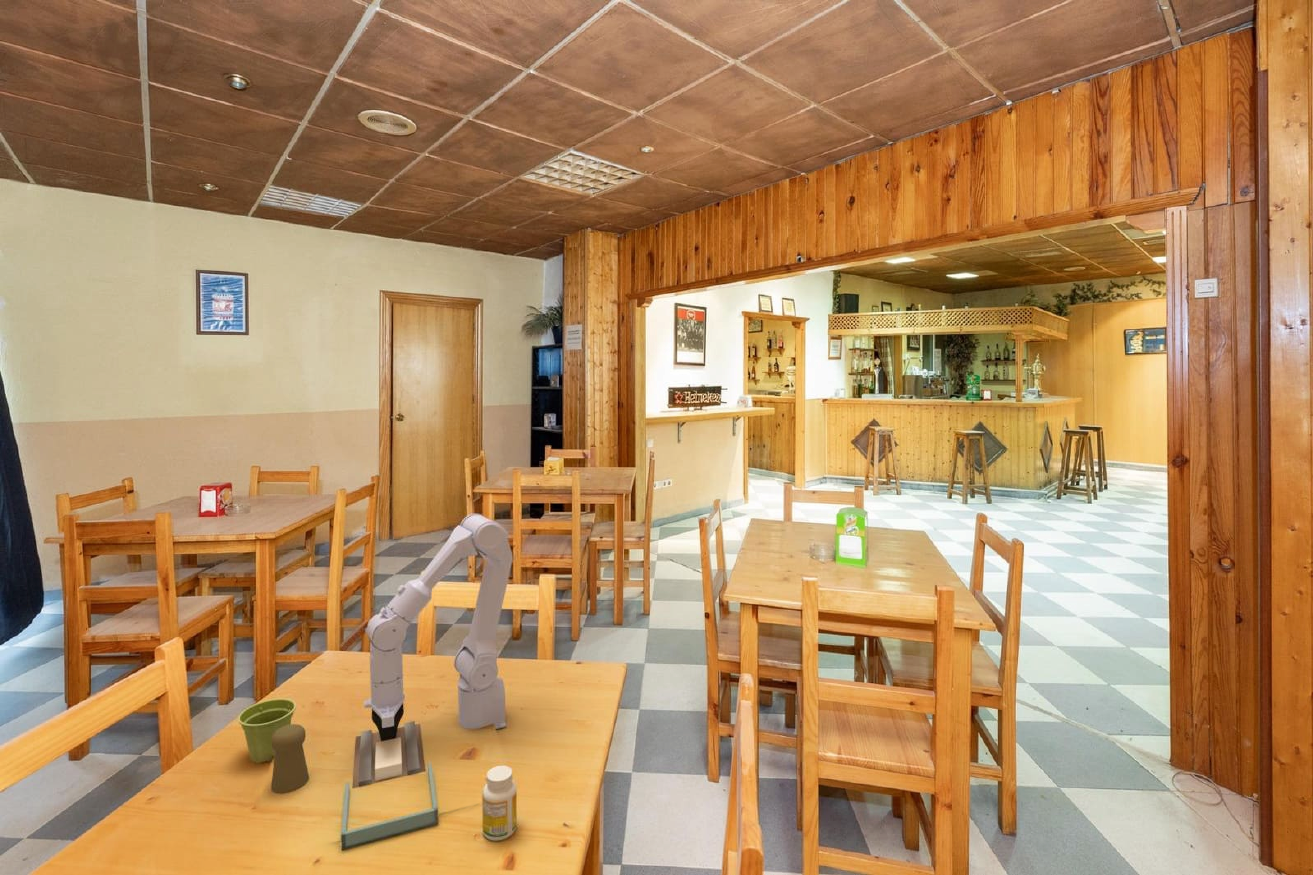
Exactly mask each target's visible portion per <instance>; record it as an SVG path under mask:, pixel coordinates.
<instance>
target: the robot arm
mask: <svg viewBox="0 0 1313 875" xmlns="http://www.w3.org/2000/svg"><path fill="white" fill-rule="evenodd" d="M508 536H509V533H508V532H507V531H506V529H505V528H504V527H503V526H502V525H501V524H500V523H499V522H497V521H494V520H491V519H490V518H487V517H485V516H484V515H483V514H480V513H472V514H468V515H466V517H464V518H463V519H462V521H461V522H460V524H459V525H457V526H456V527H455V528H454V529H453V531H452V532H451V534H450V536H449V537H448V539H447V541H445V543H444V544H443V546H442V547H441V549H440V550H439V551H438V552H437V554H436V555H435V556H434V558H433V559H432V560H431V561H430V562H429V563H428V565H427V567H426V568H424V570H423V572H422V573H421V574H420V575H419V577H418V578H416V579H412V580H407V582H406V583H405V584H404V585H403V584H400V585H399V586H398V587H397V589H396V591H397V593H396V594H395V596H394V597H393V598H392V599H391V600H390V602H389V603H388V604H387V605H386V606H385V607H384V606H383V607H382V608H381V609H380V611H379V613H378V614H375V615H373V616H372V617H371V619H369V621H368V623H367V627H366V628H365V629H364V630H365V634H366V636H367V638H368V639H369V640H371V641H370V642H369V646H370V647H369V651H370V654H369V673H370V674H369V676H370V678H369V679H370V698H369V699H366V700H364V704H363V706H364V708H365V709H367V708H371V720H372V722H373V724H374V725H375V726H376V728H377V730H378V731H377V732H379V734H380V739H381V741H385V740H390V739H395V738H396V735H397V729H398V728H399V725H400V722H401V720H402V718H403V716H404V712H405V709H404V702H405V697H406V696H405V693H404V670H403V668H404V666H403V650H402V648H403V647H402V646H403V645H402V643H404V641H405V639H406V636H407V630H408V627H409V626H410V625H412V623H413V622H414V620H415V619H416V618H417V617H418V616H419V614H420V613H421V612H422V611H423V610H424V608H425V607H426V606H427V605H428V604H429V603H430V601H431V600H432V592H433V591H432V590H433V588H435V587H436V585H437V584H438V583H439V582H440V581H441V580H442V579H443V578H444V577H445V576H446V574H447V573H448V572H449V571H450V570H451V569H452V568H453V567H454V566H455V565H456V564H457V563H458V562H459V561H460V560H461V559H463V558H468V557H469V558H470V557H474V556H478V553H479V554H480V556H481V557H482V558H483V560H484V562H485V564H484V567H483V572H482V576H481V580H480V586H479V590H478V594H477V598H476V602H475V607H474V611H473V617H472V621H471V625H470V629H469V634H468V635H467V636H466V637H465V638H463V640H462V644H461V647H460V648H459V650H458V652H457V653H456V654H455V657H454V660H453V665H454V669H455V670H456V672H457V673H458V674H459V678H458V681H457V695H458V696H457V697H458V698H457V700H458V703H457V704H458V706H457V708H458V725H459V726H460V727H461V728H463V729H465V730H479V729H483V728H485V727H488V726H491V725H493V726H494V729H495V730H498V729H503V728H506V727H507V723H506V722H507V721H506V690H505V689H506V688H505V683H504V679H503V678H502V677H498V674H499V668H498V664H497V660H498V659H497V658H498V648H497V646H496V642H495V641H496V640H495V639H496V635H497V630H498V626H499V621H500V617H501V612H502V607H503V604H504V599H505V595H506V591H507V587H508V586H507V585H508V582H509V577H510V572H511V568H512V563H513V557H514V556H513V552H512V549H511V546H510V545H511V544H510V543H509V539H508Z"/></svg>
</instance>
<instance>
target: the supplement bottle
mask: <svg viewBox="0 0 1313 875" xmlns="http://www.w3.org/2000/svg"><path fill="white" fill-rule="evenodd" d="M513 779H514V778H513V769H512V768H511V767H510V766H507V765H497V766H494V767H492V768H490V769H489V770H488V771H487V773H486V784H485V785H484V786H483V788H482V792H481V796H482V798H481V799H482V803H481V804H482V808H481V809H482V834H483V836H484V837H485V838H486V839H488V840H489V841H499V842H500V841H503V840H506V839H508V838H509V837H511V836H512V835H513V834H514V832H515V831H516V830H517V826H518V824H517V819H518V818H517V816H518V815H517V805H518V804H517V800H518V799H517V795H518V794H517V792H518V791H517V788H518V787H517V785H516V782H515V781H514V780H513Z"/></svg>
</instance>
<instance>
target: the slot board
mask: <svg viewBox="0 0 1313 875" xmlns="http://www.w3.org/2000/svg"><path fill="white" fill-rule="evenodd" d="M403 725H404V726H402V727H398V729H397V735H396V738H400V737H401V753H402V775H399V776H395V777H390V778H386V779H382V780H377V781H375V755H376V742H381V739H380V734H379V731H377V732H373V730H372V729H368V730H363V731H360V735H358V736H355V743H354V758H353V769H352V770H353V773H352V785H351V786H352V787H351V788H352V789H355V788H356V789H357V788H359V787H364V786H369V785H372V784H377V783H382V782H384V781H389V780H394V779H397V778H402V777H406V776H411V775H414V774H420V773H423V772H426V764H425V755H424V748H423V747H424V746H423V740H422V738H423V737H422V729H421V723H416V721H415V720H413V721H408V722H407V721H406V722H404V724H403Z"/></svg>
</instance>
